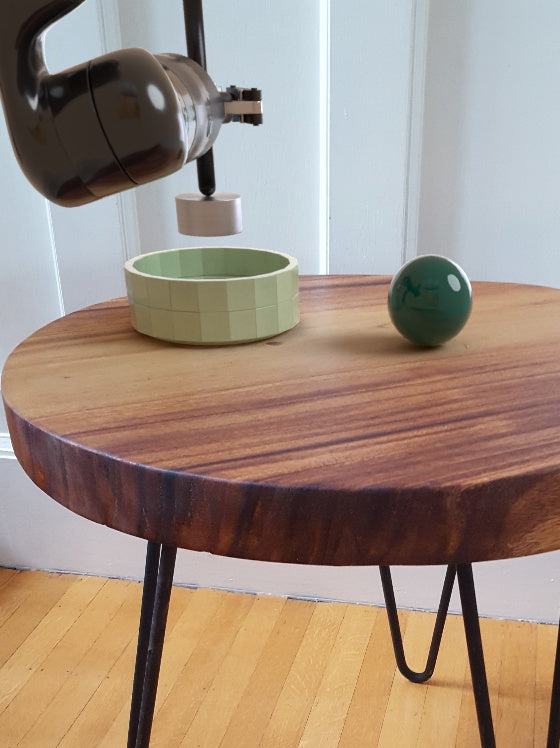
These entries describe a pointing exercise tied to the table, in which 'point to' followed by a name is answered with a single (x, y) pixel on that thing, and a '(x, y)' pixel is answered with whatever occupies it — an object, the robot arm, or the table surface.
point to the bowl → (213, 294)
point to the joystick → (205, 160)
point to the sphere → (430, 300)
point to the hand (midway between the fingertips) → (206, 100)
